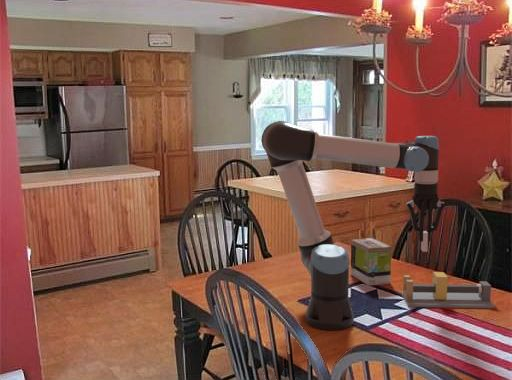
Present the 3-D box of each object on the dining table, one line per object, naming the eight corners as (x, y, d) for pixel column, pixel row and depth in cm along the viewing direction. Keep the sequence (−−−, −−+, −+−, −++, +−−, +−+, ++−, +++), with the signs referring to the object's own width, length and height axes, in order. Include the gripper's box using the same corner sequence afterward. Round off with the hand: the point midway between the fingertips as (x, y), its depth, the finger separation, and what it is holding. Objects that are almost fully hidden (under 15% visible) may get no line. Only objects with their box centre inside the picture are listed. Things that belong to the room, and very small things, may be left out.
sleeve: (446, 299, 182) (447, 277, 181) (435, 299, 182) (436, 276, 181) (442, 294, 187) (443, 272, 186) (432, 294, 188) (433, 272, 186)
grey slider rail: (493, 308, 178) (495, 285, 177) (408, 306, 180) (408, 284, 179) (481, 295, 190) (483, 273, 188) (401, 294, 192) (402, 272, 191)
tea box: (391, 283, 204) (392, 246, 201) (367, 286, 201) (368, 248, 199) (372, 272, 218) (372, 236, 216) (349, 274, 215) (350, 238, 213)
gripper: (443, 180, 182) (440, 247, 186) (404, 180, 183) (402, 247, 187) (449, 183, 175) (446, 253, 179) (408, 184, 176) (406, 253, 180)
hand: (424, 250), depth 183 cm, fingers closed
